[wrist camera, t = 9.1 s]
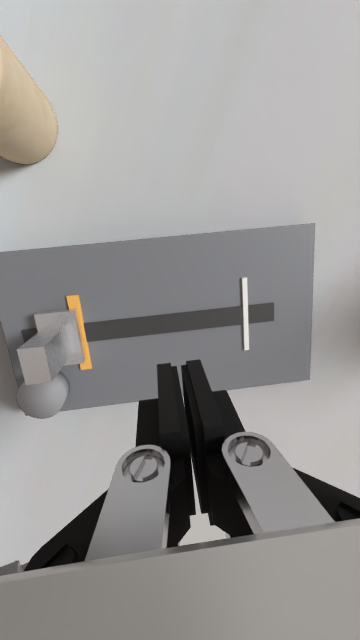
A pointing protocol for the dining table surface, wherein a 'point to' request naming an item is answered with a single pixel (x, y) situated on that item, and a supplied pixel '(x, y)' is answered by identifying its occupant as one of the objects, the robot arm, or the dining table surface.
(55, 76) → the dining table surface
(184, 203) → the dining table surface
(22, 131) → the candle
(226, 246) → the console
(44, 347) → the fader
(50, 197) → the dining table surface
